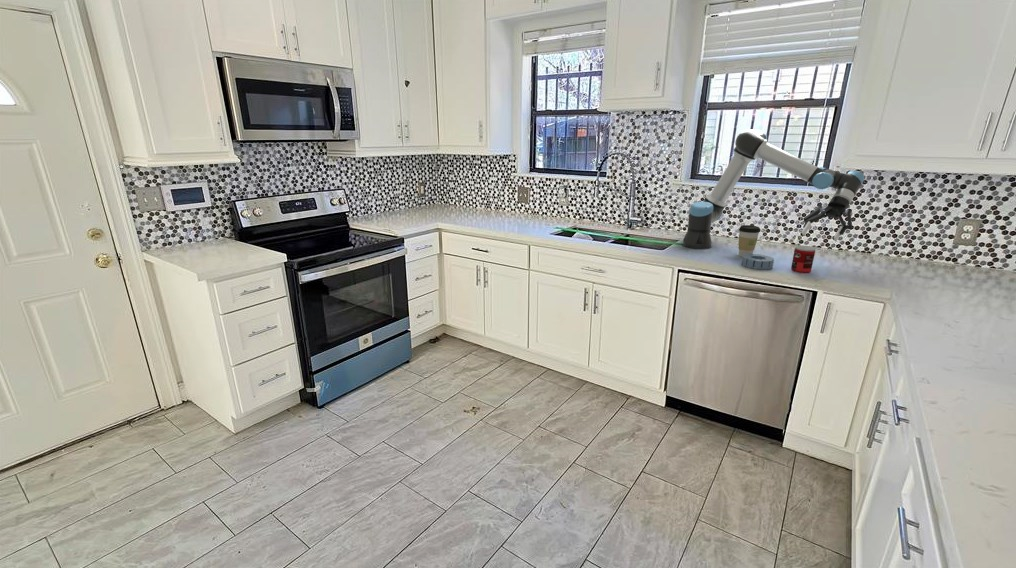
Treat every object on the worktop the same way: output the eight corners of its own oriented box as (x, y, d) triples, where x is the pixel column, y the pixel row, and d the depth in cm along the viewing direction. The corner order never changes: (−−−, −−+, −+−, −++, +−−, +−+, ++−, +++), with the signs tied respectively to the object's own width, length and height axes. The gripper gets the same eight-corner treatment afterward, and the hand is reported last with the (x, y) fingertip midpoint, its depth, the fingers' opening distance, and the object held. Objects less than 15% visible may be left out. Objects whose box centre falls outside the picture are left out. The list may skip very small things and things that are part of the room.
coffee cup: (758, 258, 233) (763, 229, 228) (737, 257, 235) (741, 228, 230) (752, 253, 242) (757, 225, 237) (732, 252, 244) (736, 224, 239)
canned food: (791, 267, 218) (796, 244, 215) (811, 270, 214) (816, 247, 210) (789, 271, 212) (794, 248, 209) (810, 274, 208) (815, 250, 205)
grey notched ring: (736, 264, 223) (737, 256, 222) (751, 260, 230) (752, 252, 229) (762, 271, 213) (764, 262, 212) (777, 266, 220) (779, 258, 219)
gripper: (873, 209, 209) (850, 246, 206) (813, 202, 229) (792, 236, 226) (871, 198, 205) (847, 236, 202) (810, 192, 224) (788, 227, 222)
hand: (818, 236), depth 214 cm, fingers open, 13 cm apart
